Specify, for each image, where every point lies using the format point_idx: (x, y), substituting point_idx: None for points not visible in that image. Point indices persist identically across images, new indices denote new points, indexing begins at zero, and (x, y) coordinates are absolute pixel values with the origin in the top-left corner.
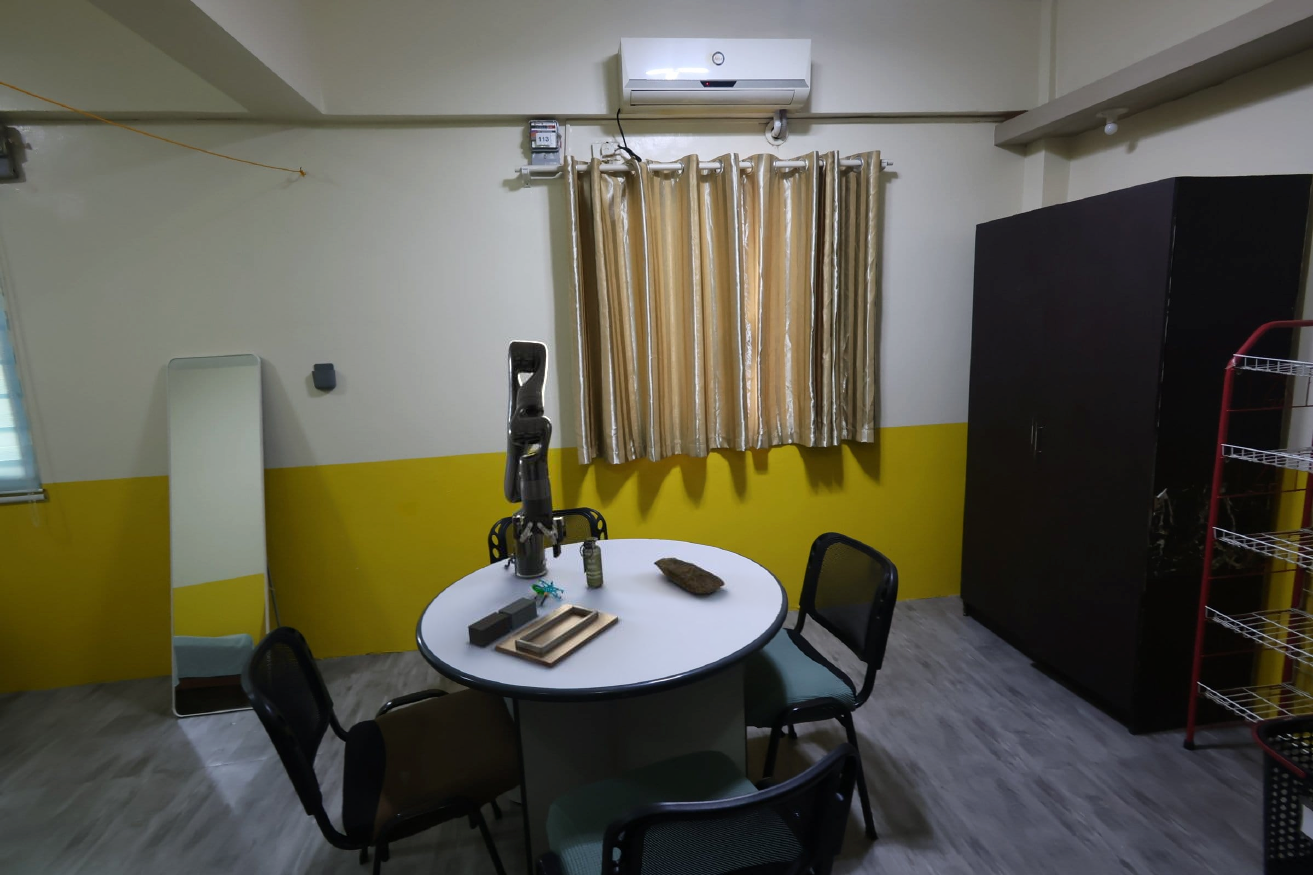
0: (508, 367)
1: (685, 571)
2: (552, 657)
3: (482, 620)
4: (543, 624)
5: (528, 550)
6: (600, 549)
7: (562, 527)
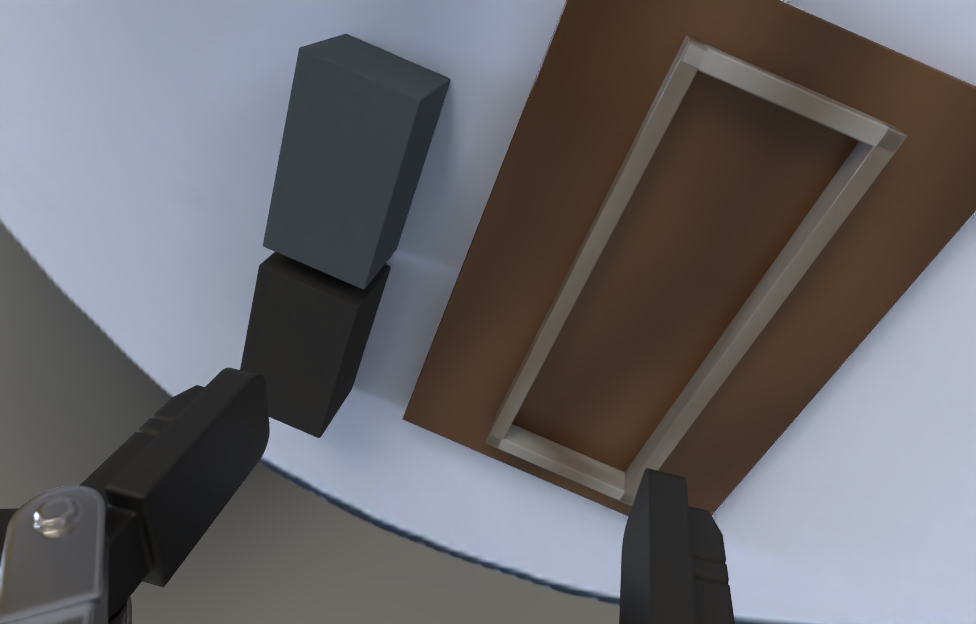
0: None
1: None
2: None
3: (260, 355)
4: (567, 315)
5: (235, 439)
6: None
7: None
